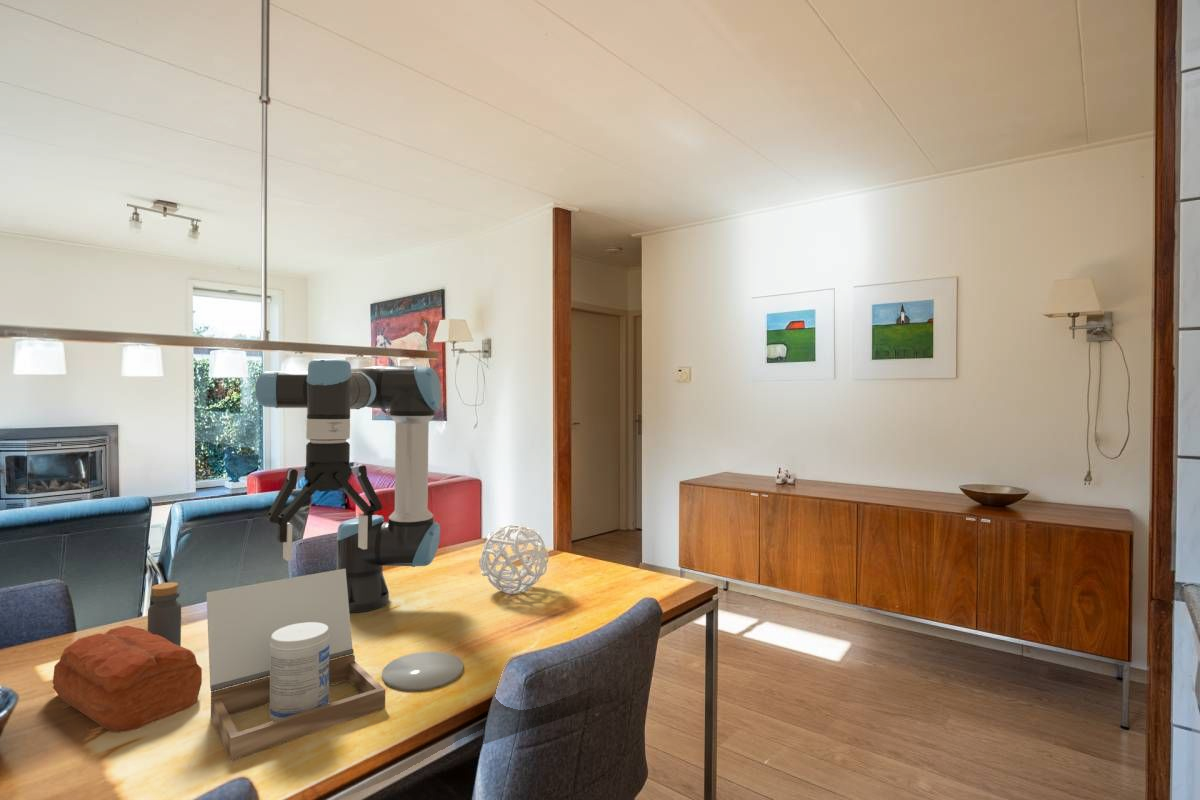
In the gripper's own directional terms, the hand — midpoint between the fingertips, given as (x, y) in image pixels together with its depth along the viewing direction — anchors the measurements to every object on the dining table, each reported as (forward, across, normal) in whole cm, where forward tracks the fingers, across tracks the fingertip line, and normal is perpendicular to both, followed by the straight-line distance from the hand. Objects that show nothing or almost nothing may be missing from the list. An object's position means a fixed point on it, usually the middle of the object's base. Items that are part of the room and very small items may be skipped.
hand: (326, 553), depth 114 cm
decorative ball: (+27, +62, +28) cm, 73 cm away
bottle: (+27, -20, +40) cm, 53 cm away
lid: (+14, -5, +6) cm, 16 cm away
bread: (+27, -28, +22) cm, 45 cm away
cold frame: (+27, -5, -4) cm, 28 cm away
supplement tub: (+27, -5, -4) cm, 28 cm away
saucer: (+27, +19, -3) cm, 33 cm away
